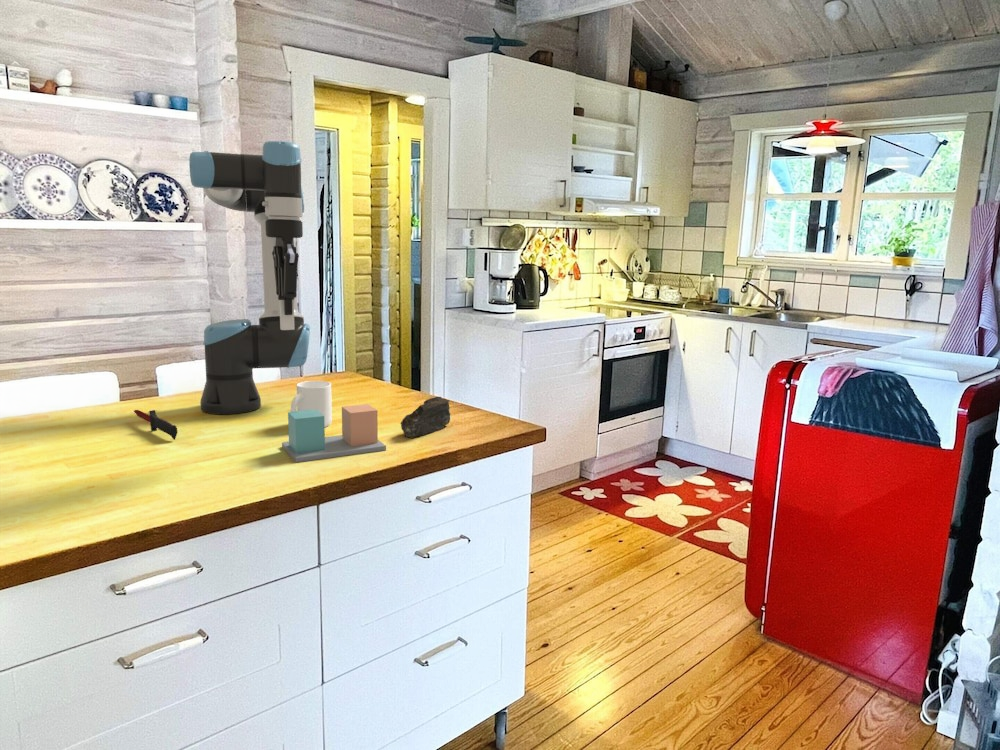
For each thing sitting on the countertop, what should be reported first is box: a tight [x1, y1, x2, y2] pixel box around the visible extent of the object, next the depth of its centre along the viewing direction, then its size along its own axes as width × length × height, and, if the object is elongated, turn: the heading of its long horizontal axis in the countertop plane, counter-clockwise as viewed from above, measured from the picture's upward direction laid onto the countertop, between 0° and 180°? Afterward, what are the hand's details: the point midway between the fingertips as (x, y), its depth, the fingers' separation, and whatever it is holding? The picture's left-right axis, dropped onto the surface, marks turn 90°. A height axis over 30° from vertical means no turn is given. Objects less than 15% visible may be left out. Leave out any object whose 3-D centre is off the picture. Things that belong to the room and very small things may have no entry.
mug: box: [290, 380, 333, 428], centre depth 175 cm, size 12×8×10 cm
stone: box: [400, 396, 451, 438], centre depth 174 cm, size 7×8×15 cm
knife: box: [133, 409, 178, 441], centre depth 168 cm, size 24×2×5 cm, turn 47°
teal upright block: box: [287, 409, 326, 453], centre depth 155 cm, size 6×6×8 cm
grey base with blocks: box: [281, 403, 387, 463], centre depth 158 cm, size 12×20×9 cm, turn 120°
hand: (287, 329), depth 155 cm, fingers closed
